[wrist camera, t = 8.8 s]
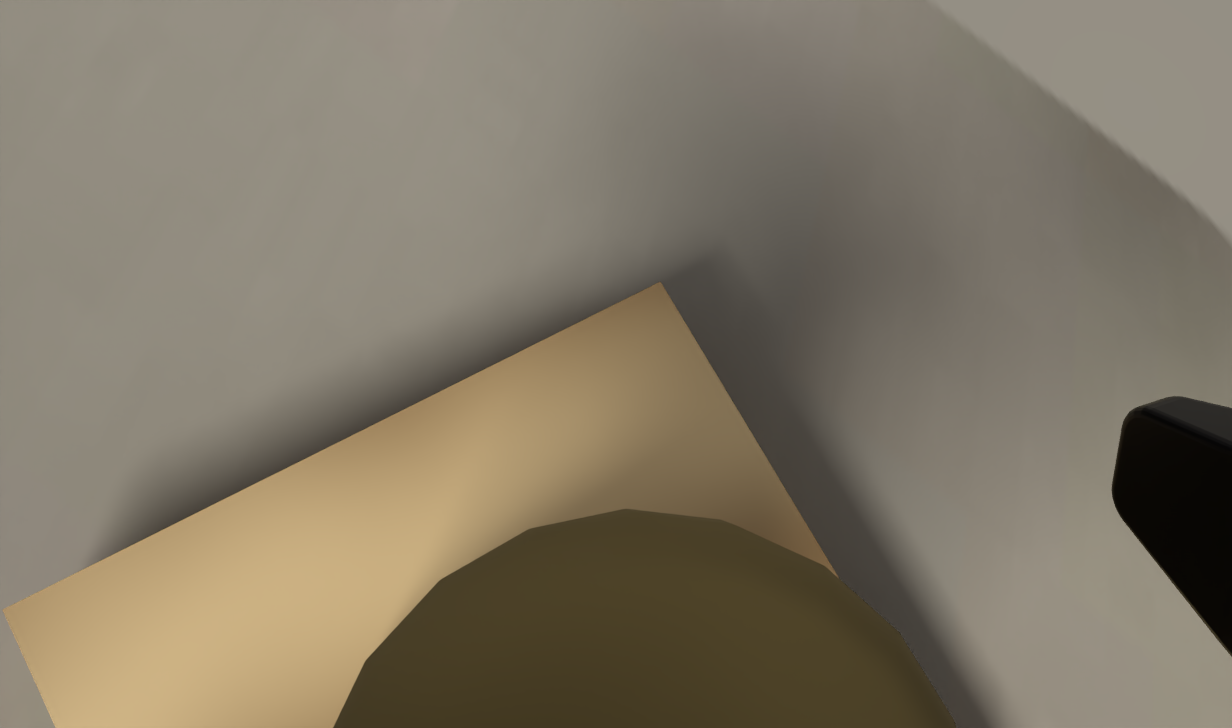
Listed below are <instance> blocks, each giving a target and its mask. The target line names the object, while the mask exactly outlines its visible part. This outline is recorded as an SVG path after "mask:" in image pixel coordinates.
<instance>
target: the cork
mask: <svg viewBox="0 0 1232 728" xmlns="http://www.w3.org/2000/svg"><path fill="white" fill-rule="evenodd" d="M333 728H956V725H955V722H954V720H953V718H952V716H951V715H950V713H949V712H948V710H947V708H946V707H945V705H944V704H943V702H942V700H941V699H940V697H939V696H938V694H937V692H936V691H935V689H934V688H933V686H932V684H931V683H930V681H929V680H928V678H927V676H926V675H925V673H924V671H923V670H922V668H921V667H920V665H919V663H918V662H917V660H916V659H915V657H914V655H913V654H912V652H911V651H910V649H909V647H908V646H907V644H906V643H905V641H904V639H903V638H902V636H901V635H900V633H899V632H898V631H897V630H896V629H895V628H894V627H893V626H891V625H890V624H889V623H888V622H887V621H886V620H885V619H884V618H882V617H881V616H880V615H879V614H878V613H877V612H876V611H875V610H874V609H872V608H871V607H870V606H869V605H868V604H867V603H866V602H865V601H863V600H862V599H861V598H860V597H859V596H858V595H857V594H856V593H855V592H853V591H852V590H851V589H850V588H849V587H848V586H847V585H846V584H844V583H843V582H842V581H841V580H840V579H839V578H838V577H837V576H835V575H834V574H833V573H832V572H831V571H830V570H829V569H828V568H827V567H825V566H824V565H822V564H820V563H817V562H815V561H813V560H811V559H809V558H807V557H804V556H802V555H800V554H798V553H796V552H793V551H791V550H789V549H787V548H785V547H782V546H780V545H778V544H776V543H774V542H771V541H769V540H767V539H765V538H763V537H761V536H758V535H756V534H754V533H752V532H750V531H747V530H745V529H743V528H741V527H739V526H736V525H734V524H731V523H729V522H726V521H723V520H720V519H712V518H703V517H694V516H685V515H677V514H668V513H659V512H651V511H642V510H633V509H621V510H617V511H612V512H607V513H602V514H597V515H593V516H588V517H583V518H578V519H573V520H569V521H564V522H559V523H554V524H549V525H545V526H540V527H535V528H530V529H528V530H526V531H524V532H523V533H521V534H519V535H517V536H516V537H514V538H512V539H510V540H509V541H507V542H505V543H503V544H502V545H500V546H498V547H497V548H495V549H493V550H491V551H490V552H488V553H486V554H484V555H483V556H481V557H479V558H477V559H476V560H474V561H472V562H470V563H469V564H467V565H465V566H463V567H462V568H460V569H458V570H456V571H455V572H453V573H451V574H449V575H448V576H446V577H444V578H442V579H441V580H439V581H438V582H437V584H436V585H435V586H434V587H433V588H432V589H431V590H430V591H429V592H428V593H427V594H426V595H425V597H424V598H423V599H422V600H421V601H420V602H419V603H418V604H417V605H416V606H415V607H414V609H413V610H412V611H411V612H410V613H409V614H408V615H407V616H406V617H405V618H404V619H403V620H402V622H401V623H400V624H399V625H398V626H397V627H396V628H395V629H394V630H393V631H392V632H391V633H390V635H389V636H388V637H387V638H386V639H385V640H384V641H383V642H382V643H381V644H380V645H379V646H378V648H377V649H376V650H375V651H374V652H373V653H372V654H371V655H370V656H369V657H368V658H367V659H366V661H365V662H364V664H363V667H362V669H361V671H360V673H359V675H358V677H357V679H356V681H355V683H354V685H353V687H352V689H351V691H350V694H349V696H348V698H347V700H346V702H345V704H344V706H343V708H342V710H341V712H340V714H339V716H338V718H337V721H336V723H335V725H334V727H333Z"/></svg>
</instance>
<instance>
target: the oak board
mask: <svg viewBox="0 0 1232 728" xmlns="http://www.w3.org/2000/svg"><path fill="white" fill-rule="evenodd" d="M621 509H633V510H642V511H651V512H659V513H668V514H677V515H685V516H694V517H703V518H712V519H720V520H723V521H726V522H729V523H731V524H734V525H736V526H739V527H741V528H743V529H745V530H747V531H750V532H752V533H754V534H756V535H758V536H761V537H763V538H765V539H767V540H769V541H771V542H774V543H776V544H778V545H780V546H782V547H785V548H787V549H789V550H791V551H793V552H796V553H798V554H800V555H802V556H804V557H807V558H809V559H811V560H813V561H815V562H817V563H820V564H822V565H824V566H825V567H827V568H828V569H829V570H830V571H831V572H832V573H833V574H834V575H835V576H837V574H836V572H835V571H834V569H833V567H832V566H831V564H830V562H829V561H828V559H827V557H826V556H825V554H824V552H823V551H822V549H821V547H820V546H819V544H818V542H817V541H816V539H815V537H814V536H813V534H812V532H811V531H810V529H809V527H808V526H807V524H806V523H805V521H804V519H803V518H802V516H801V514H800V513H799V511H798V509H797V508H796V506H795V504H794V503H793V501H792V499H791V498H790V496H789V494H788V493H787V491H786V489H785V488H784V486H783V484H782V483H781V481H780V479H779V478H778V476H777V474H776V473H775V471H774V469H773V468H772V466H771V464H770V463H769V461H768V459H767V458H766V456H765V454H764V453H763V451H762V449H761V448H760V446H759V444H758V443H757V441H756V439H755V438H754V436H753V434H752V433H751V431H750V429H749V428H748V426H747V425H746V423H745V421H744V420H743V418H742V416H741V415H740V413H739V411H738V410H737V408H736V406H735V405H734V403H733V401H732V400H731V398H730V396H729V395H728V393H727V391H726V390H725V388H724V386H723V385H722V383H721V381H720V380H719V378H718V376H717V375H716V373H715V371H714V370H713V368H712V366H711V365H710V363H709V361H708V360H707V358H706V356H705V355H704V353H703V351H702V350H701V348H700V346H699V345H698V343H697V341H696V340H695V338H694V336H693V335H692V333H691V331H690V330H689V328H688V327H687V325H686V323H685V322H684V320H683V318H682V317H681V315H680V313H679V312H678V310H677V308H676V307H675V305H674V303H673V302H672V300H671V298H670V297H669V295H668V293H667V292H666V290H665V288H664V287H663V285H662V283H661V282H658V283H656V284H654V285H652V286H650V287H648V288H646V289H644V290H642V291H640V292H638V293H636V294H634V295H632V296H630V297H628V298H626V299H624V300H622V301H620V302H618V303H616V304H614V305H612V306H610V307H608V308H606V309H604V310H602V311H600V312H598V313H596V314H594V315H592V316H590V317H588V318H586V319H584V320H582V321H580V322H578V323H576V324H574V325H572V326H570V327H568V328H566V329H564V330H562V331H560V332H558V333H556V334H554V335H552V336H550V337H548V338H546V339H544V340H542V341H540V342H538V343H536V344H534V345H532V346H530V347H528V348H526V349H524V350H522V351H520V352H518V353H516V354H514V355H512V356H510V357H508V358H506V359H504V360H502V361H500V362H498V363H496V364H494V365H492V366H490V367H488V368H486V369H484V370H482V371H480V372H478V373H476V374H474V375H472V376H470V377H468V378H466V379H464V380H462V381H460V382H458V383H456V384H454V385H452V386H450V387H448V388H446V389H444V390H442V391H440V392H438V393H436V394H434V395H432V396H430V397H428V398H426V399H424V400H422V401H420V402H418V403H416V404H414V405H412V406H410V407H408V408H406V409H404V410H402V411H400V412H398V413H396V414H394V415H392V416H390V417H388V418H386V419H384V420H382V421H380V422H378V423H376V424H374V425H372V426H370V427H368V428H366V429H364V430H362V431H360V432H358V433H356V434H354V435H352V436H350V437H348V438H346V439H344V440H342V441H340V442H338V443H336V444H334V445H332V446H330V447H328V448H326V449H324V450H322V451H320V452H318V453H316V454H314V455H312V456H310V457H308V458H306V459H304V460H302V461H300V462H298V463H296V464H294V465H292V466H290V467H288V468H286V469H284V470H282V471H280V472H278V473H276V474H274V475H272V476H270V477H268V478H266V479H264V480H262V481H260V482H257V483H255V484H253V485H251V486H249V487H247V488H245V489H243V490H241V491H239V492H237V493H235V494H233V495H231V496H229V497H227V498H225V499H223V500H221V501H219V502H217V503H215V504H213V505H211V506H209V507H207V508H205V509H203V510H201V511H199V512H197V513H195V514H193V515H191V516H189V517H187V518H185V519H183V520H181V521H179V522H177V523H175V524H173V525H171V526H169V527H167V528H165V529H163V530H161V531H159V532H157V533H155V534H153V535H151V536H149V537H147V538H145V539H143V540H141V541H139V542H137V543H135V544H133V545H131V546H129V547H127V548H125V549H123V550H121V551H119V552H117V553H115V554H113V555H111V556H109V557H107V558H105V559H103V560H101V561H99V562H97V563H95V564H93V565H91V566H89V567H87V568H85V569H83V570H81V571H79V572H77V573H75V574H73V575H71V576H69V577H67V578H65V579H63V580H61V581H59V582H57V583H55V584H53V585H51V586H49V587H47V588H45V589H43V590H41V591H39V592H37V593H35V594H33V595H31V596H29V597H27V598H25V599H23V600H21V601H19V602H17V603H15V604H13V605H11V606H9V607H7V608H5V609H3V612H4V614H5V617H6V619H7V621H8V623H9V625H10V628H11V630H12V632H13V634H14V636H15V639H16V641H17V643H18V645H19V648H20V650H21V652H22V654H23V656H24V659H25V661H26V663H27V665H28V667H29V670H30V672H31V674H32V676H33V678H34V681H35V683H36V685H37V687H38V689H39V692H40V694H41V696H42V698H43V700H44V703H45V705H46V707H47V709H48V712H49V714H50V716H51V718H52V720H53V723H54V725H55V727H56V728H333V727H334V725H335V723H336V721H337V718H338V716H339V714H340V712H341V710H342V708H343V706H344V704H345V702H346V700H347V698H348V696H349V694H350V691H351V689H352V687H353V685H354V683H355V681H356V679H357V677H358V675H359V673H360V671H361V669H362V667H363V664H364V662H365V661H366V659H367V658H368V657H369V656H370V655H371V654H372V653H373V652H374V651H375V650H376V649H377V648H378V646H379V645H380V644H381V643H382V642H383V641H384V640H385V639H386V638H387V637H388V636H389V635H390V633H391V632H392V631H393V630H394V629H395V628H396V627H397V626H398V625H399V624H400V623H401V622H402V620H403V619H404V618H405V617H406V616H407V615H408V614H409V613H410V612H411V611H412V610H413V609H414V607H415V606H416V605H417V604H418V603H419V602H420V601H421V600H422V599H423V598H424V597H425V595H426V594H427V593H428V592H429V591H430V590H431V589H432V588H433V587H434V586H435V585H436V584H437V582H438V581H439V580H441V579H442V578H444V577H446V576H448V575H449V574H451V573H453V572H455V571H456V570H458V569H460V568H462V567H463V566H465V565H467V564H469V563H470V562H472V561H474V560H476V559H477V558H479V557H481V556H483V555H484V554H486V553H488V552H490V551H491V550H493V549H495V548H497V547H498V546H500V545H502V544H503V543H505V542H507V541H509V540H510V539H512V538H514V537H516V536H517V535H519V534H521V533H523V532H524V531H526V530H528V529H530V528H535V527H540V526H545V525H549V524H554V523H559V522H564V521H569V520H573V519H578V518H583V517H588V516H593V515H597V514H602V513H607V512H612V511H617V510H621ZM837 577H838V576H837ZM838 578H839V577H838Z"/></svg>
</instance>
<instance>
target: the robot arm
mask: <svg viewBox="0 0 1232 728" xmlns="http://www.w3.org/2000/svg"><path fill="white" fill-rule="evenodd" d="M1112 497H1113V501H1114V504H1115V507H1116V509H1117V511H1118V513H1119V515H1120V517H1121V518H1122V519H1123V521H1124V522H1125V523H1126V525H1127V526H1128V527H1129V528H1130V530H1131V531H1132V532H1133V533H1134V535H1135V536H1136V537H1137V539H1138V540H1139V541H1140V542H1141V544H1142V545H1143V546H1144V547H1145V549H1146V550H1147V551H1148V552H1149V554H1150V555H1151V556H1152V557H1153V559H1154V560H1155V561H1156V563H1157V564H1158V565H1159V566H1160V568H1161V569H1162V570H1163V571H1164V573H1165V574H1166V575H1167V576H1168V578H1169V579H1170V580H1171V581H1172V583H1173V584H1174V585H1175V587H1176V588H1177V589H1178V590H1179V592H1180V593H1181V594H1182V595H1183V597H1184V598H1185V599H1186V600H1187V602H1188V603H1189V604H1190V605H1191V607H1192V608H1193V609H1194V611H1195V612H1196V613H1197V614H1198V616H1199V617H1200V618H1201V619H1202V621H1203V622H1204V623H1205V624H1206V626H1207V627H1208V628H1209V629H1210V631H1211V632H1212V633H1213V634H1214V636H1215V637H1216V638H1217V640H1218V641H1219V642H1220V643H1221V644H1222V646H1223V647H1224V648H1225V649H1226V650H1227V652H1228V653H1229V654H1230V655H1231V656H1232V408H1229V407H1224V406H1220V405H1216V404H1212V403H1207V402H1203V401H1199V400H1195V399H1190V398H1186V397H1180V396H1173V397H1167V398H1163V399H1160V400H1157V401H1154V402H1151V403H1148V404H1145V405H1142V406H1139V407H1136V408H1134V409H1133V410H1131V411H1130V412H1129V413H1128V415H1127V416H1126V417H1125V419H1124V421H1123V425H1122V429H1121V435H1120V441H1119V447H1118V453H1117V458H1116V464H1115V470H1114V476H1113V482H1112Z"/></svg>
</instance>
